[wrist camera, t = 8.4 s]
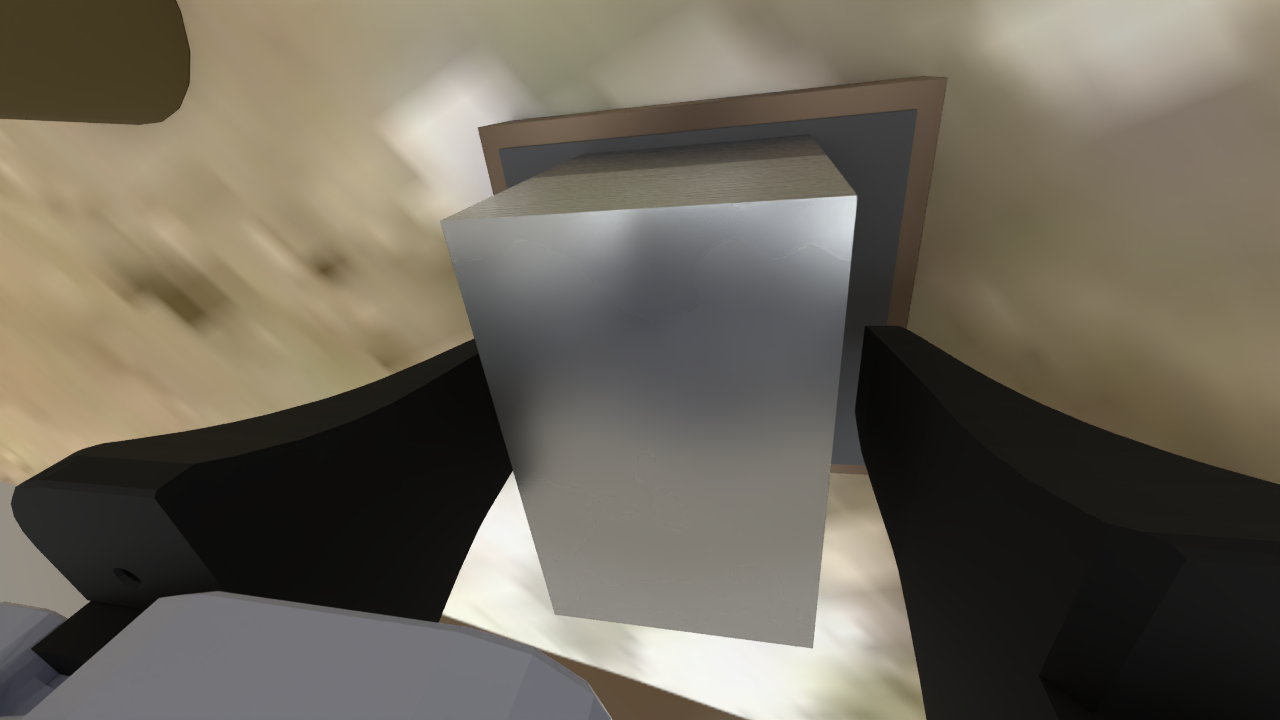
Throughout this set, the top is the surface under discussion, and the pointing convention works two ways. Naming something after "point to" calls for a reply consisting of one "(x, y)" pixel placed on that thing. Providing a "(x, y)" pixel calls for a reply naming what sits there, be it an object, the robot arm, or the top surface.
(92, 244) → the top surface
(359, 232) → the top surface
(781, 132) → the stand
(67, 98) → the cork
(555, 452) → the block
